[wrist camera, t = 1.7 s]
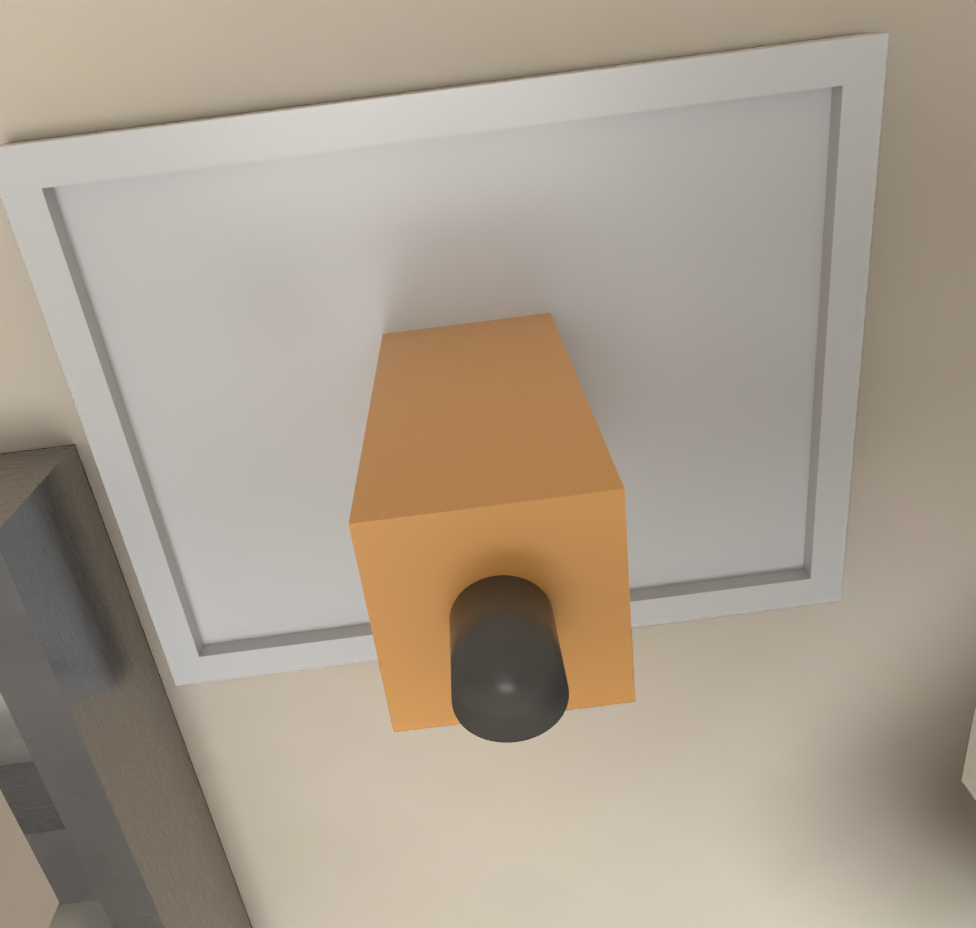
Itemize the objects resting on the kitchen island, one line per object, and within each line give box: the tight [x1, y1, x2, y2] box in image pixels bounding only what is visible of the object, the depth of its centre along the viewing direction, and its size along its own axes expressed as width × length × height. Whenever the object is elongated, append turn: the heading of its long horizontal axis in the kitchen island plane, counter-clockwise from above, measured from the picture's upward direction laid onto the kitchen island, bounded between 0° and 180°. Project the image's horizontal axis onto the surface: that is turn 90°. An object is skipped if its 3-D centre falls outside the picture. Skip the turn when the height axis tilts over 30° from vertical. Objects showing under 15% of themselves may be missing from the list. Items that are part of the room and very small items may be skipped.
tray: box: [0, 33, 889, 686], centre depth 24 cm, size 21×16×1 cm
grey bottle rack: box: [0, 445, 252, 928], centre depth 27 cm, size 10×22×5 cm, turn 7°
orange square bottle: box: [349, 313, 635, 742], centre depth 18 cm, size 4×4×12 cm
